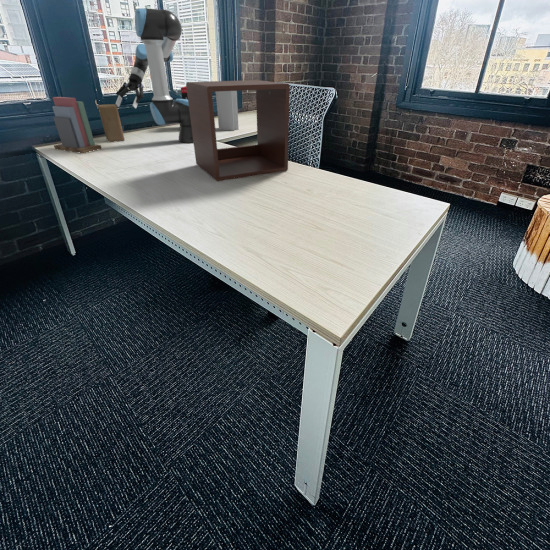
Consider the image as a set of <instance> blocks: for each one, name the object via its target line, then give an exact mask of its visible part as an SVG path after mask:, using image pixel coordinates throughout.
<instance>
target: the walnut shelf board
mask: <svg viewBox="0 0 550 550" xmlns="http://www.w3.org/2000/svg"><path fill="white" fill-rule="evenodd" d="M53 148H54V150H57V149H58V150H59V151H64V150H65V151H66V152H70V151H72V152H73V153H77V152H80V153H79V154H87V153H86V152H88V153H90V152H89V151H92V152H94V151H93V150H96V151H98V150H97V149H100V150H102V149H101V148H102V145H101V144H95V145H91V146H85V147H82V148H79V147H78V148H73V147H66V146H63V145H62V143H58V144H54V145H53ZM58 150H57V151H58ZM72 152H71V153H72Z"/></svg>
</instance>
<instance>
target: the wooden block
mask: <svg viewBox="0 0 550 550" xmlns="http://www.w3.org/2000/svg"><path fill="white" fill-rule="evenodd" d="M97 108H98V112H99V116H100V119H101V122H102V123H101V124H102V127H103V131H104V135H105V138H106V140H107V142H108V143H114V141H117V142H125V136H124V135H125V134H124V132H123V131H124V130H123V126H122V123H121V118H120V113H119V110H118V106H117V105H116V103H115V104H114V103H110V104H109V103H108V104H99V105H97Z"/></svg>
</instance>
